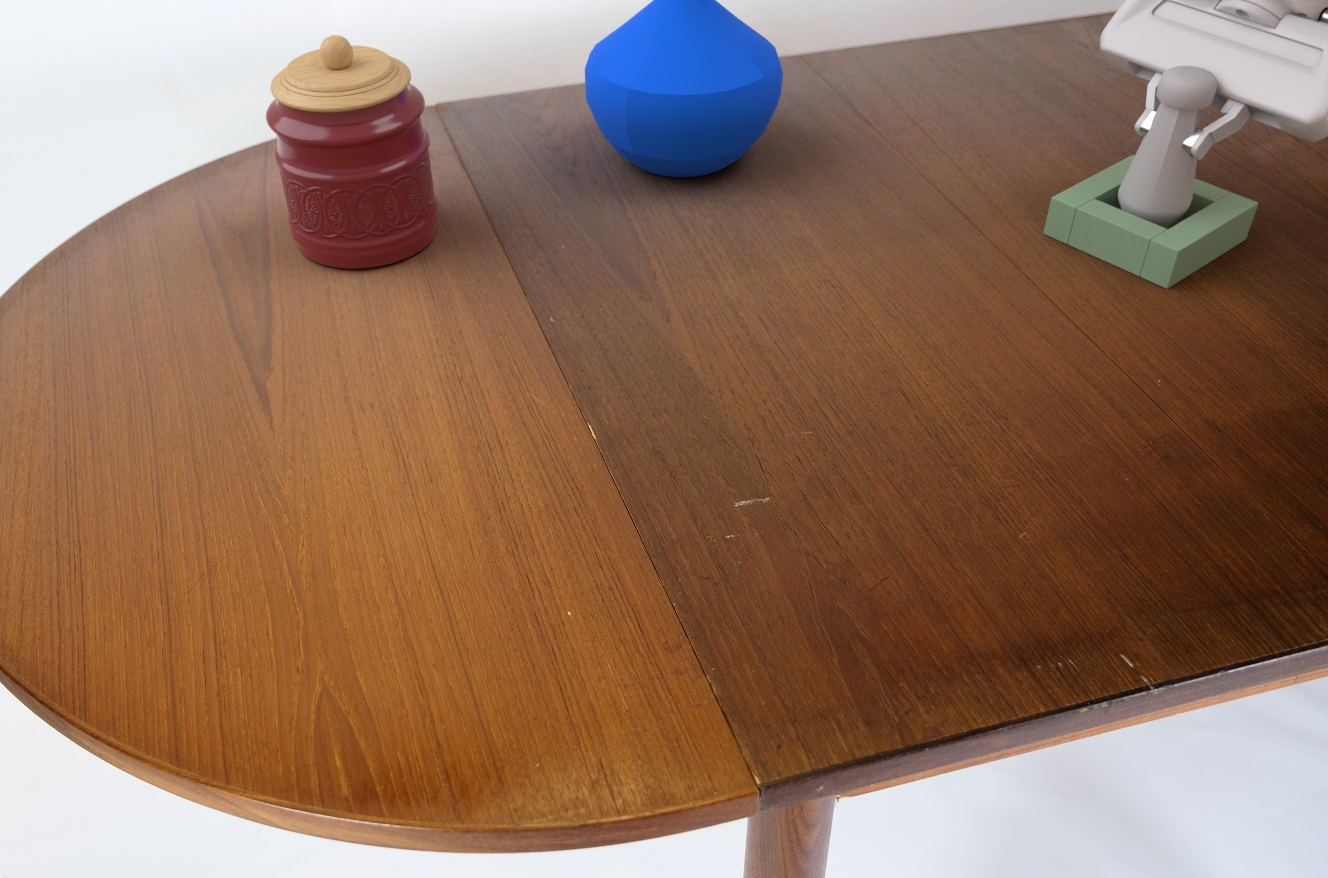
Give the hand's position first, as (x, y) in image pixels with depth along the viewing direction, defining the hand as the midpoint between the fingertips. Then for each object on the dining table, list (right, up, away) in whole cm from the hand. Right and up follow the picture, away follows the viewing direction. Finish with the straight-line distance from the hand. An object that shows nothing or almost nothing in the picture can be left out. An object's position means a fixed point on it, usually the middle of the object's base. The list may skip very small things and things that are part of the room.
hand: (1165, 144), depth 100 cm
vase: (-38, +4, +20) cm, 43 cm away
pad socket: (+1, -6, +6) cm, 9 cm away
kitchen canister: (-66, -6, +10) cm, 67 cm away
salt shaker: (+1, -5, +5) cm, 7 cm away
